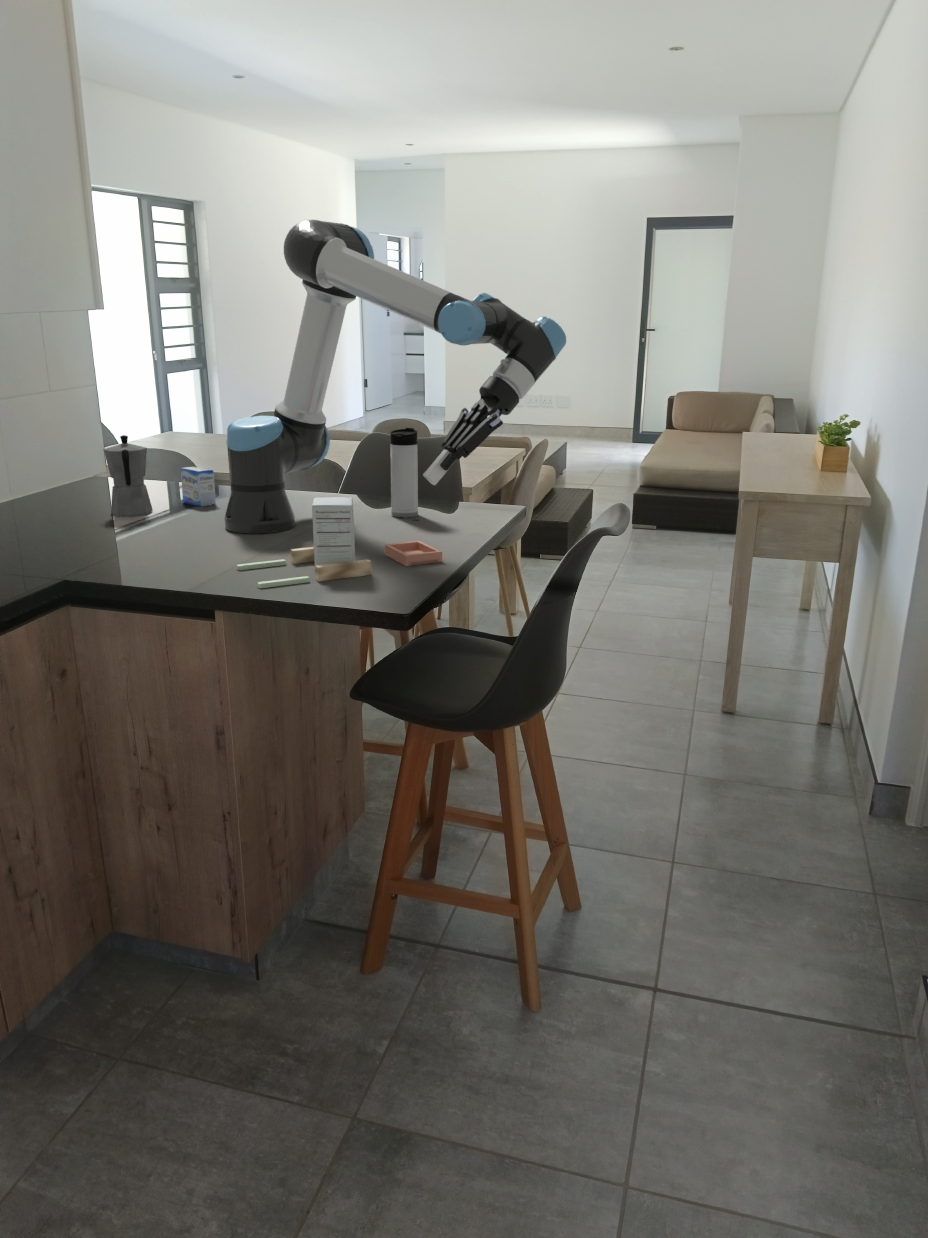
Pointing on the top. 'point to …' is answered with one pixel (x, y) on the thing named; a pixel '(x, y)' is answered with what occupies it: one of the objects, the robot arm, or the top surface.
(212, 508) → the top surface
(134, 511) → the coffeepot
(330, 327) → the robot arm
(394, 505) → the travel mug
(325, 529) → the supplement box
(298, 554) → the channel
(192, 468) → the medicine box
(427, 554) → the pit tray
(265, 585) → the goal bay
